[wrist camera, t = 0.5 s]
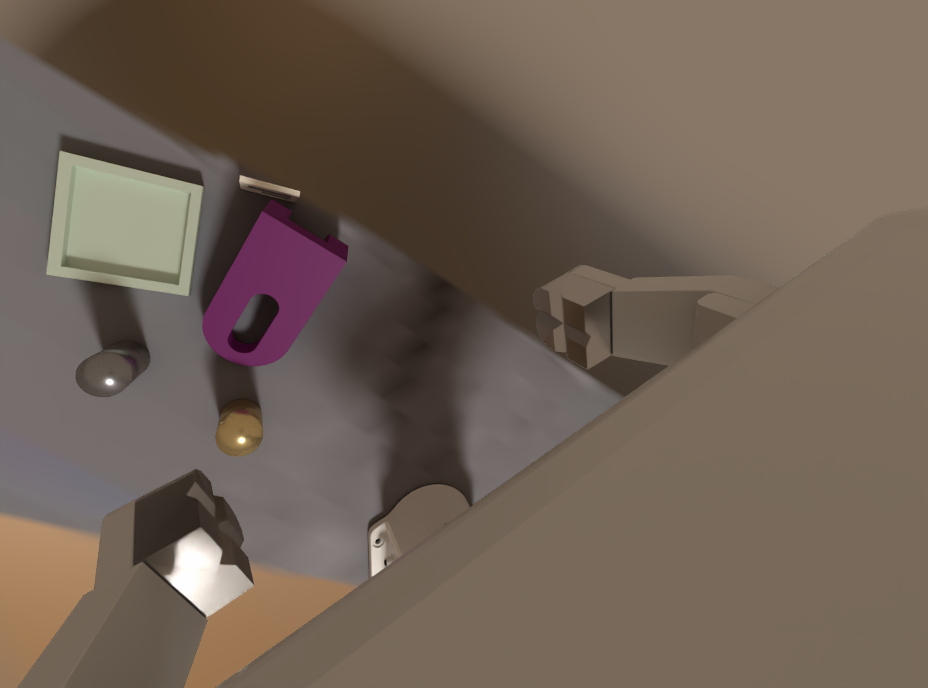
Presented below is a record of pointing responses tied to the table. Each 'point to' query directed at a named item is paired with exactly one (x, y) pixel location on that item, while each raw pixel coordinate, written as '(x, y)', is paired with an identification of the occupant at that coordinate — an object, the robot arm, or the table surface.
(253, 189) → the label tile
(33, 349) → the table surface
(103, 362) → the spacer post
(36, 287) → the table surface
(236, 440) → the gold metallic cylinder
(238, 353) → the mounting bracket
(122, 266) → the parts tray
